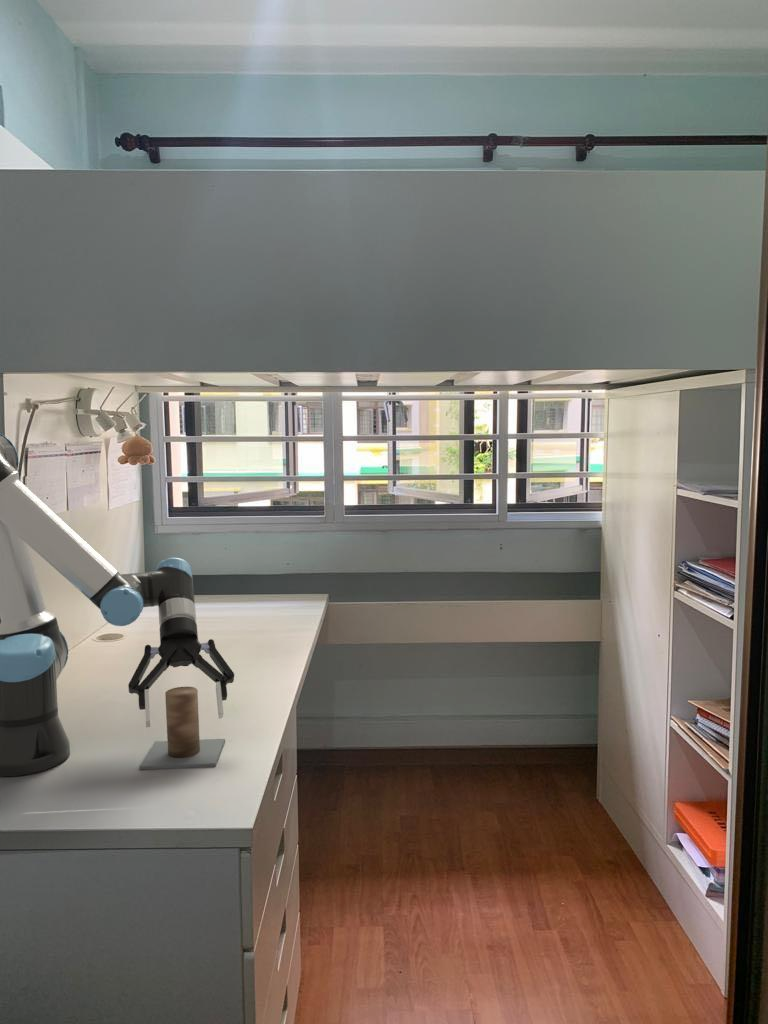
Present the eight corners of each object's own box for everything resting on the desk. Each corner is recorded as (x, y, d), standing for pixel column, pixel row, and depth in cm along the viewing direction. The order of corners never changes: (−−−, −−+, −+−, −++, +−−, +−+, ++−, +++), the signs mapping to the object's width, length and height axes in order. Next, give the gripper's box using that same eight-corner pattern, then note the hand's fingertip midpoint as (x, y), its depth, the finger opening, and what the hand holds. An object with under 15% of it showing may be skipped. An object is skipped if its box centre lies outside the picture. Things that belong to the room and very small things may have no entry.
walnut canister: (164, 758, 145) (162, 697, 144) (171, 746, 151) (169, 687, 150) (196, 757, 145) (194, 696, 144) (202, 745, 151) (200, 686, 150)
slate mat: (139, 769, 142) (139, 766, 142) (154, 744, 154) (154, 741, 154) (215, 766, 143) (215, 763, 142) (225, 741, 154) (225, 738, 154)
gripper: (237, 629, 166) (248, 720, 153) (115, 639, 158) (117, 736, 145) (239, 610, 160) (251, 702, 147) (113, 620, 153) (115, 718, 140)
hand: (185, 719), depth 146 cm, fingers open, 13 cm apart
